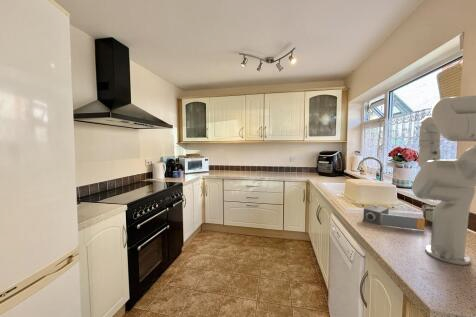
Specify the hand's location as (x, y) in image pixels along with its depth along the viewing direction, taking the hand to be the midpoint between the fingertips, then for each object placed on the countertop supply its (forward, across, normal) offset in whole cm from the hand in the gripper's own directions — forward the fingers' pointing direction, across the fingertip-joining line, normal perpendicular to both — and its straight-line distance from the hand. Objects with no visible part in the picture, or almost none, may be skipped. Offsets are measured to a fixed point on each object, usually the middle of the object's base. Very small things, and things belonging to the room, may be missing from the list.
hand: (427, 182), depth 101 cm
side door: (+25, +3, +8) cm, 26 cm away
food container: (+25, +14, -9) cm, 30 cm away
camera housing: (+25, +12, +18) cm, 32 cm away
